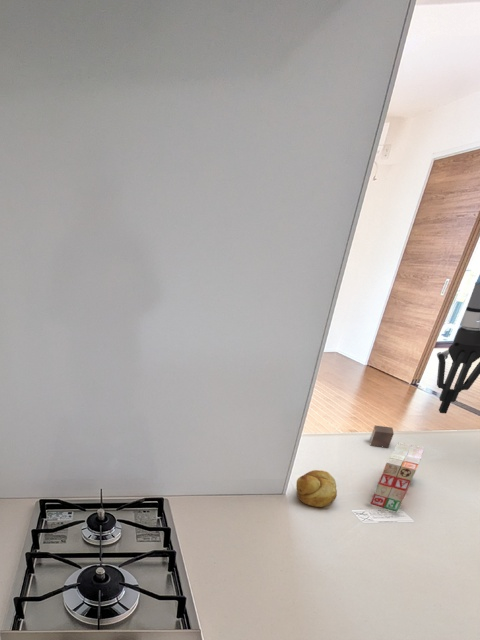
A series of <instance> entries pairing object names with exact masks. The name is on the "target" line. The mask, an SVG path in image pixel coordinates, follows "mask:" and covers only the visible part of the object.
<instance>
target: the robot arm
mask: <svg viewBox="0 0 480 640" xmlns="http://www.w3.org/2000/svg"><path fill="white" fill-rule="evenodd" d="M459 325H460V327H459V328H458V329H457V332H456V333H455V336H454V339H453V342H452V344H451V345H450V346H449V347H448V349H446V350H445V351H442V352H441V351H439V352H437V353H436V357H437V361H438V365H437V377H436V378H437V379H436V386H437V389H441V392H440V395H439V397H438V398H439V401H440V405H439V408H438V412H439V413H440V414H447V412H448V410H449V408H450V406H451V403H455V402H456V401H457V398H458V396H459V393H461V392H462V391H468V390H469V389H470V388H471V387H472V386H473V384H474V383H475V381H477V379H478V377H479V376H480V361H479V362H478V363H477V364H476V365H475V367H474V368H473V370H472V372H471V373H470V374H469V376H468V373H469V371H470V369H471V368H472V365H473V363H475V362H477V360H479V359H480V274H479V275H478V277H477V279H476V281H475V283H474V287H473V289H472V291H471V295H470V298H469V300H468V303H467V306H466V308H465V310H464V313H463V315H462V318H461V321H460V323H459ZM449 356H450V358H451V360H452V362H451V365H450V369H449V371H448V374H447V376H446V379H445V372H446V363H447V361H446V360H447V359H448V358H449ZM461 364H462V366H461ZM460 366H461V369H460V370H459V368H460ZM458 370H459V371H460V372H459V374H458V376H457V372H458ZM456 376H457V378H456ZM467 376H468V377H467ZM455 378H456V381H455V384H454V385H453V388H452V384H453V382H454V380H455Z"/></svg>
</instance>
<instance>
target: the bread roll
mask: <svg viewBox="0 0 480 640" xmlns="http://www.w3.org/2000/svg"><path fill="white" fill-rule="evenodd" d="M295 485H296V495H297V499H298V500H299V501H301V502H302V503H303V504H305V505H308V506H311V507H316V508H317V507H318V508H322V507H327V506H329V505H331V504H333V503H334V501H335V500H336V498H337V496H338V490H337V482H336V479H335V477H333V476H332V474H330V473H329V472H328V471H325V470H318V469H313V470H310V471H308V472H306V473H304V474H303V475H301V476H300V477H298V478H297V479H296V484H295Z"/></svg>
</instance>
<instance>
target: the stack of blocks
mask: <svg viewBox="0 0 480 640" xmlns="http://www.w3.org/2000/svg"><path fill="white" fill-rule="evenodd" d="M424 450H425V447H423V446H418V445H414V444H408V443H404V442H398V443H397V444H395V446H394V449H393V451H392V452H391V454H390V456H389V458H388V459H387V461H386V463H385V466H384V467H383V471H382V473H381V476H380V477H379V481H378V484H377V487H376V490H375V491H374V494H373V495H372V499H371V501H370V504H371V505H374V506H377V507H381V508H385V509H388V510H391V511H394V512H398V511H399V509H400V507H401V505H402V503H403V501H404V499H405V496H406V494H407V492H408V490H409V488H410V485H411V483H412V481H413V478H414V475H415V473H416V471H417V469H418V467H419V464H420V461H421V460H422V457H423V454H424Z"/></svg>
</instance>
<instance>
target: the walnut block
mask: <svg viewBox="0 0 480 640" xmlns="http://www.w3.org/2000/svg"><path fill="white" fill-rule="evenodd" d="M393 436H394V429H393V427H392V426H391V427H390V426H382V425H374V426H373V429H372V433H371V435H370V438H369V446H370V447H377V448H384V449H389V447H390V445H391V442H392V439H393ZM370 443H371V445H370ZM374 445H375V446H374ZM381 446H383V447H381Z"/></svg>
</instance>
